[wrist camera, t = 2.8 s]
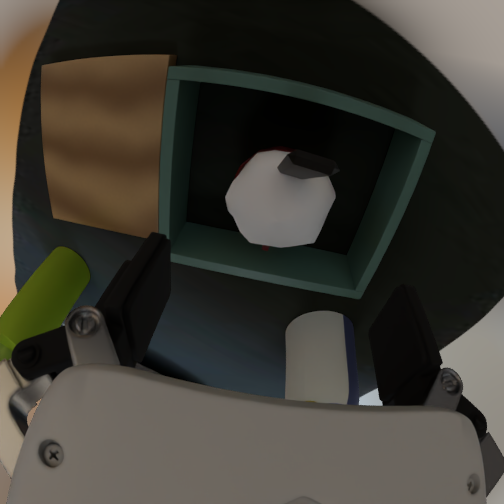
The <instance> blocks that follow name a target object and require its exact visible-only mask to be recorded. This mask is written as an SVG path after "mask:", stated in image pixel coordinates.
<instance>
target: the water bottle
mask: <svg viewBox="0 0 504 504" xmlns="http://www.w3.org/2000/svg"><path fill="white" fill-rule="evenodd" d="M285 399H288V400H296V401H306V402H316V403H329V404H344V405H359V384H358V374H357V364H356V353H355V340H354V328H353V324H352V322H351V321H350V320H349V319H348V318H347V317H346V316H344V315H342V314H340V313H337V312H333V311H314V312H310V313H306V314H303V315H301V316H299V317H297V318H296V319H294V320H293V321H292V322H291V323H290V324H289V325H288V327H287V329H286V388H285Z"/></svg>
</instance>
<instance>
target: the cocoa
mask: <svg viewBox="0 0 504 504" xmlns="http://www.w3.org/2000/svg"><path fill="white" fill-rule="evenodd" d="M339 171H340V170H339V168H338V166H337V164H336V163H335V161H333V160H330V159H327V158H324V157H321V156H318V155H315V154H312V153H308V152H305V151H302V150H299V149H296V150H295V149H292V148H288V147H284V146H277V147H272V148H267V149H262V150H259V151H257V152H256V153H255V154H253V155H252V156H251V157H250V158H248V159H247V160H246V161H244V162H243V163H242V164H241V166H240V167H239V169H238V171H237V174H236V176H235V178H234V180H233V182H232V184H231V186H230V188H229V190H228V192H227V194H226V196H225V199H226V203H227V208H228V211H229V212H230V214H231V215H232V216H233V217H234V220H235V222H236V224H237V226H238V228H239V230H240V232H241V233H242V235H243V236H244V237H245V238H246V239H247V240H248V241H249V242H250V243H254V244H261V245H262V250H264V251H268V250H269V247H270V246H273V247H279V248H283V247H291V246H298V245H304V244H310V243H314V242H315V240H316V238H317V237H318V235H319V233H320V231H321V229H322V226H323V224H324V221H325V219H326V217H327V214H328V212H329V210H330V208H331V206H332V204H333V202H334V200H335V198H336V196H335V191H334V188H333V186H332V184H331V181H330V179H329V177H328V176H331V175H333V174H335V173H337V172H339Z"/></svg>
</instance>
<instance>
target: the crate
mask: <svg viewBox="0 0 504 504" xmlns="http://www.w3.org/2000/svg"><path fill="white" fill-rule="evenodd" d="M167 79H168V80H167V84H166V92H165V102H164V113H163V124H162V138H161V155H160V178H159V233H161V234H165V235H166V236H167V239H170V241H171V262H175V263H180V264H184V265H189V266H194V267H198V268H203V269H207V270H212V271H217V272H222V273H226V274H231V275H236V276H241V277H246V278H251V279H255V280H260V281H265V282H270V283H275V284H281V285H286V286H291V287H296V288H301V289H306V290H312V291H317V292H322V293H328V294H333V295H339V296H344V297H350V298H355V299H360V298H361V296H362V294H363V293H364V291H365V289H366V287H367V285H368V283H369V282H370V280H371V278H372V276H373V274H374V272H375V271H376V269H377V267H378V265H379V263H380V261H381V259H382V257H383V255H384V253H385V251H386V249H387V247H388V245H389V243H390V241H391V239H392V237H393V235H394V233H395V231H396V229H397V227H398V225H399V223H400V220H401V218H402V216H403V214H404V212H405V209H406V207H407V205H408V203H409V200H410V198H411V196H412V193H413V191H414V189H415V186H416V184H417V181H418V179H419V176H420V174H421V171H422V169H423V166H424V164H425V161H426V158H427V156H428V153H429V150H430V147H431V143H432V142H433V139H434V136H435V133H436V132H435V131H433V130H432V129H430V128H428V127H426V126H424V125H422V124H420V123H419V122H417V121H415V120H413V119H411V118H409V117H406V116H404V115H402V114H399V113H397V112H394V111H392V110H389V109H387V108H384V107H381V106H379V105H376V104H373V103H370V102H367V101H364V100H361V99H359V98H355V97H352V96H349V95H346V94H343V93H340V92H336V91H333V90H329V89H326V88H322V87H318V86H314V85H311V84H307V83H302V82H298V81H294V80H289V79H285V78H280V77H275V76H270V75H264V74H259V73H253V72H247V71H240V70H233V69H225V68H216V67H206V66H195V65H186V66H169V68H168V76H167ZM201 82H207V83H216V84H224V85H231V86H238V87H244V88H250V89H256V90H262V91H267V92H272V93H277V94H282V95H286V96H291V97H295V98H300V99H304V100H308V101H312V102H316V103H319V104H323V105H327V106H330V107H334V108H337V109H341V110H344V111H347V112H350V113H354V114H357V115H360V116H363V117H366V118H369V119H372V120H374V121H377V122H380V123H383V124H385V125H388V126H391V127H393V128H395V131H394V134H393V137H392V140H391V143H390V146H389V149H388V152H387V155H386V158H385V160H384V163H383V166H382V169H381V172H380V174H379V177H378V180H377V182H376V185H375V188H374V190H373V193H372V196H371V198H370V201H369V203H368V206H367V208H366V211H365V213H364V216H363V218H362V221H361V223H360V225H359V228H358V230H357V233H356V235H355V237H354V240H353V242H352V244H351V246H350V249H349V251H348V253H347V255H343V254H338V253H334V252H329V251H325V250H320V249H316V248H311V247H306V246H302V245H298V246H291V247H283V248H279V247H273V246H270V247H269V250H268V251H264V250H262V245H261V244H254V243H250V242H249V241H248V240H247V239H246V238H245V237H244V236H243V235H242V233H240V232H235V231H230V230H225V229H220V228H215V227H210V226H205V225H200V224H195V223H190V222H186V219H187V204H188V190H189V178H190V167H191V157H192V147H193V138H194V129H195V120H196V112H197V105H198V97H199V90H200V83H201Z"/></svg>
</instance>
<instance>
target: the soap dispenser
mask: <svg viewBox="0 0 504 504" xmlns="http://www.w3.org/2000/svg"><path fill="white" fill-rule="evenodd" d="M89 281H90V272H89V269H88V267H87V265H86V263H85V262H84V260H83V259H82V258H81V257H80V256H79V255H78V254H77V253H76V252H74V251H73V250H71V249H69V248H67V247H57V248H55V249H54V251H53V252H52V253H51V254H50V255H49V256H48V257H47V258H46V260H45V261H44V262H43V263H42V264H41V265H40V266H39V268H38V269H37V270H36V271H35V272H34V274H33V275H32V276H31V277H30V278H29V280H28V281H27V282H26V283H25V285H24V286H23V287H22V288H21V290H20V291H19V292H18V294H17V295H16V296H15V298H14V299H13V300H12V302H11V303H10V304H9V306H8V307H7V308H6V310H5V311H4V313H3V314H2V315H1V317H0V361H2V360H3V359H5V358H6V359H7V360H9V359H10V358H11V355H12V351H13V349H14V347H15V346H16V345H17V344H18V343H19V342H20V341H22V340H24V339H27V338H30V337H33V336H36V335H39V334H42V333H45V332H48V331H50V330H53V329H56V328H59V327H60V325H61V324H62V322H63V321H64V319H65V317H66V316H67V314H68V313H69V311H70V310H71V308H72V306H73V305H74V303H75V302H76V300H77V299H78V297H79V296H80V294H81V293H82V291H83V290H84V289H85V287H86V286H87V284H88V283H89Z"/></svg>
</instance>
